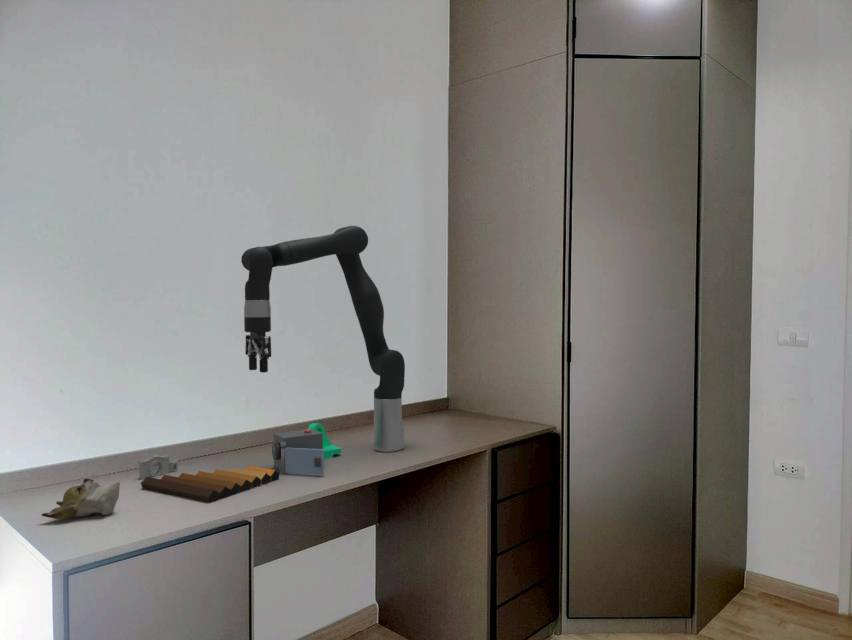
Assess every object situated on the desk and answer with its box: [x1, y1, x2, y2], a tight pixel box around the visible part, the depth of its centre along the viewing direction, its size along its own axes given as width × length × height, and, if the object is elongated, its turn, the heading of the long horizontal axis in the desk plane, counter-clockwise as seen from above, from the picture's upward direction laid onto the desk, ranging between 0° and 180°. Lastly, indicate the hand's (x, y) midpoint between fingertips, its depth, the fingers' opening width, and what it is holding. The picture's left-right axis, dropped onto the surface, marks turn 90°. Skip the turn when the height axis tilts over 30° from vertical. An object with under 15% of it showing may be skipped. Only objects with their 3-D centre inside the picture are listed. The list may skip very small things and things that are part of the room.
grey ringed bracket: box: [137, 453, 179, 480], centre depth 179 cm, size 12×2×6 cm, turn 149°
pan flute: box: [140, 465, 281, 504], centre depth 170 cm, size 25×3×25 cm
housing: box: [271, 428, 323, 472], centre depth 186 cm, size 13×10×11 cm
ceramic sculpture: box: [41, 478, 121, 520], centre depth 144 cm, size 11×9×15 cm
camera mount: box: [307, 422, 342, 460], centre depth 201 cm, size 12×8×10 cm, turn 132°
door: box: [280, 447, 325, 476], centre depth 178 cm, size 12×2×7 cm, turn 79°
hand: (258, 371), depth 186 cm, fingers open, 8 cm apart
